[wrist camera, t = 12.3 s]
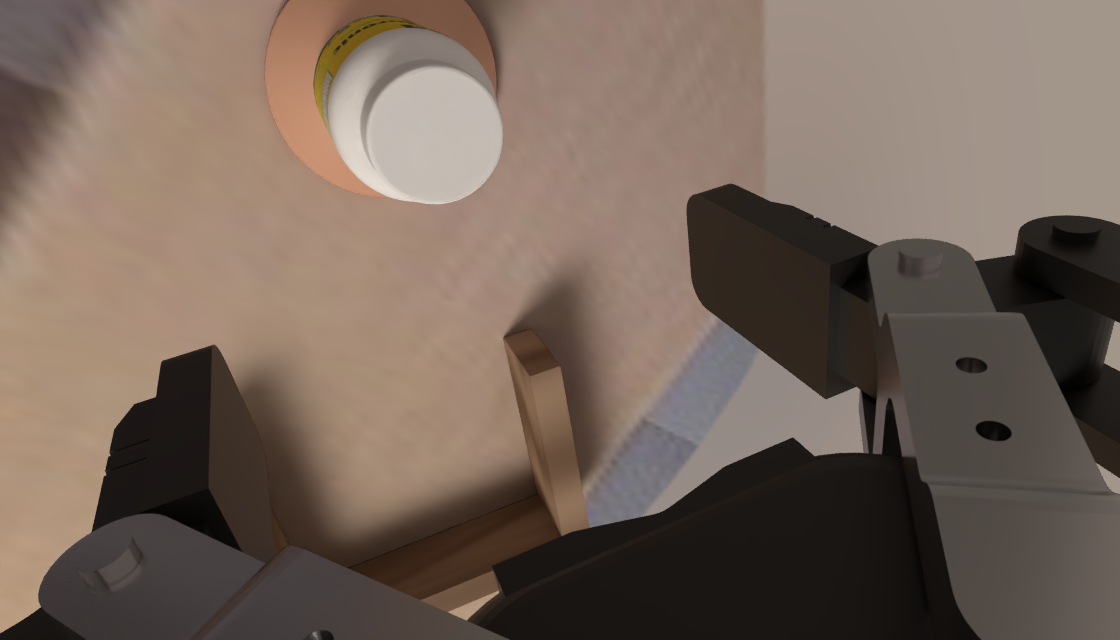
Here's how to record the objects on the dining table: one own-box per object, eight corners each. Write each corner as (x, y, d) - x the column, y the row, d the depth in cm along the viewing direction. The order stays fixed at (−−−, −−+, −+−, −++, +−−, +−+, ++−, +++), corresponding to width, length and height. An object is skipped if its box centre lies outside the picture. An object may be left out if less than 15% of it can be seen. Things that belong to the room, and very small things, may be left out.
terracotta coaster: (228, -16, 27) (228, -16, 26) (467, -60, 29) (471, -61, 28) (307, 217, 31) (308, 221, 30) (509, 163, 33) (514, 166, 33)
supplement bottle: (447, 12, 29) (530, 38, 21) (452, 150, 31) (528, 222, 23) (302, 11, 27) (331, 39, 19) (318, 158, 30) (350, 239, 21)
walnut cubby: (199, 437, 33) (195, 492, 30) (531, 328, 37) (560, 365, 34) (287, 615, 39) (292, 677, 36) (565, 504, 43) (593, 550, 40)
